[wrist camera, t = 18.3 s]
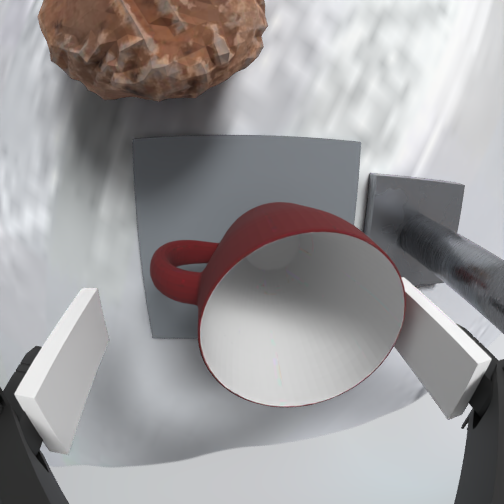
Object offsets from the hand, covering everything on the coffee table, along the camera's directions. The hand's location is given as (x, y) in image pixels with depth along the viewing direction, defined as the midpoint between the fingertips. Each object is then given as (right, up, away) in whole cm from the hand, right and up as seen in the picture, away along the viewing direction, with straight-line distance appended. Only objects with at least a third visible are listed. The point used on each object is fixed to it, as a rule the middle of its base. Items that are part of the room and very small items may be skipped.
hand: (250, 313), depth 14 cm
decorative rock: (-5, +17, +2) cm, 18 cm away
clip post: (+12, +4, +8) cm, 15 cm away
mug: (0, +3, +7) cm, 8 cm away
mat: (0, +3, +7) cm, 8 cm away
